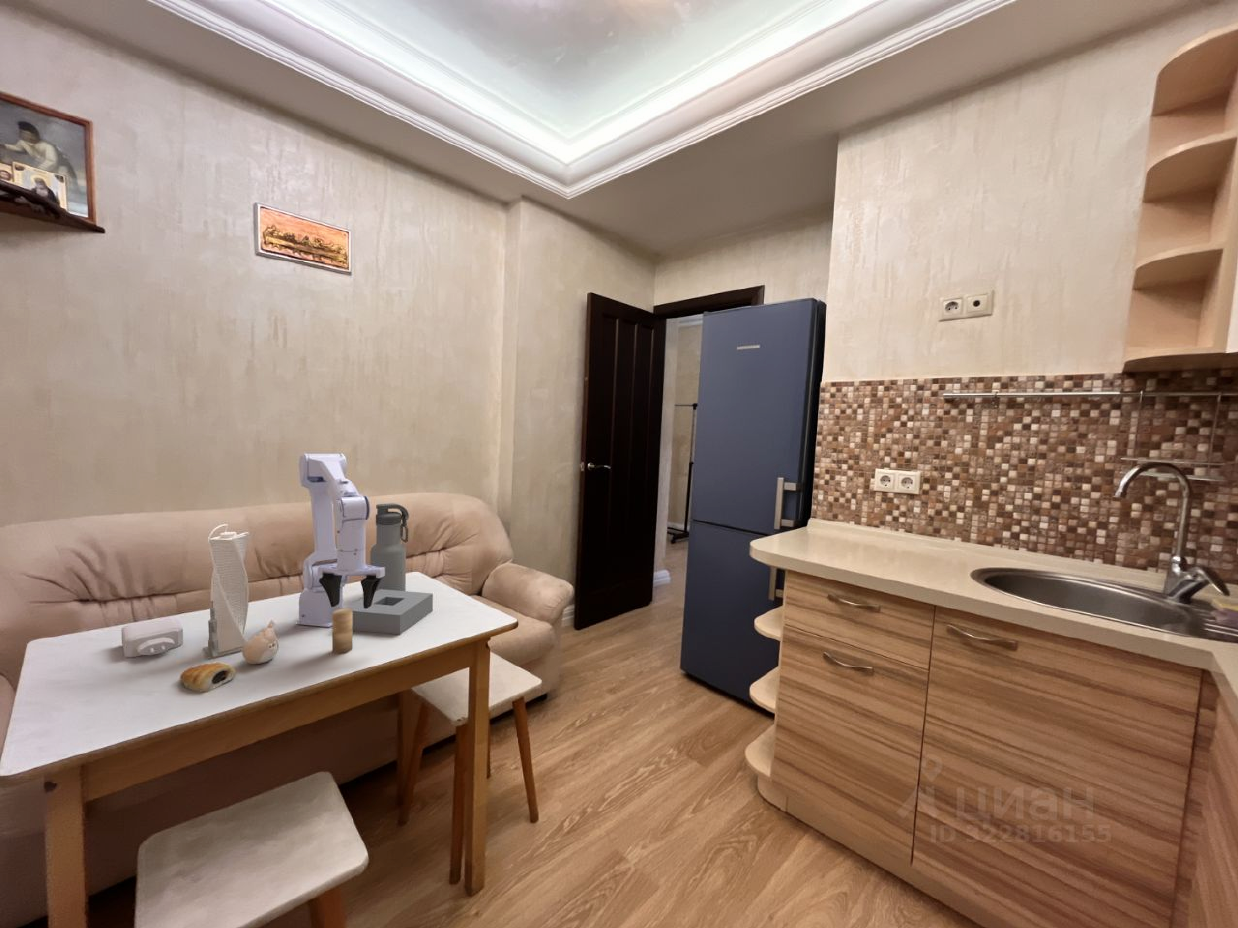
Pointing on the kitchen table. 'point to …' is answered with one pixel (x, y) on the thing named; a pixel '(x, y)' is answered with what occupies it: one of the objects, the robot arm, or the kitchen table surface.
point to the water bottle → (390, 546)
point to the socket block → (391, 611)
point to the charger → (151, 637)
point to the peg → (342, 631)
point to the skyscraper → (227, 594)
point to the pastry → (207, 676)
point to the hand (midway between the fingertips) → (351, 606)
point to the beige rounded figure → (261, 646)
